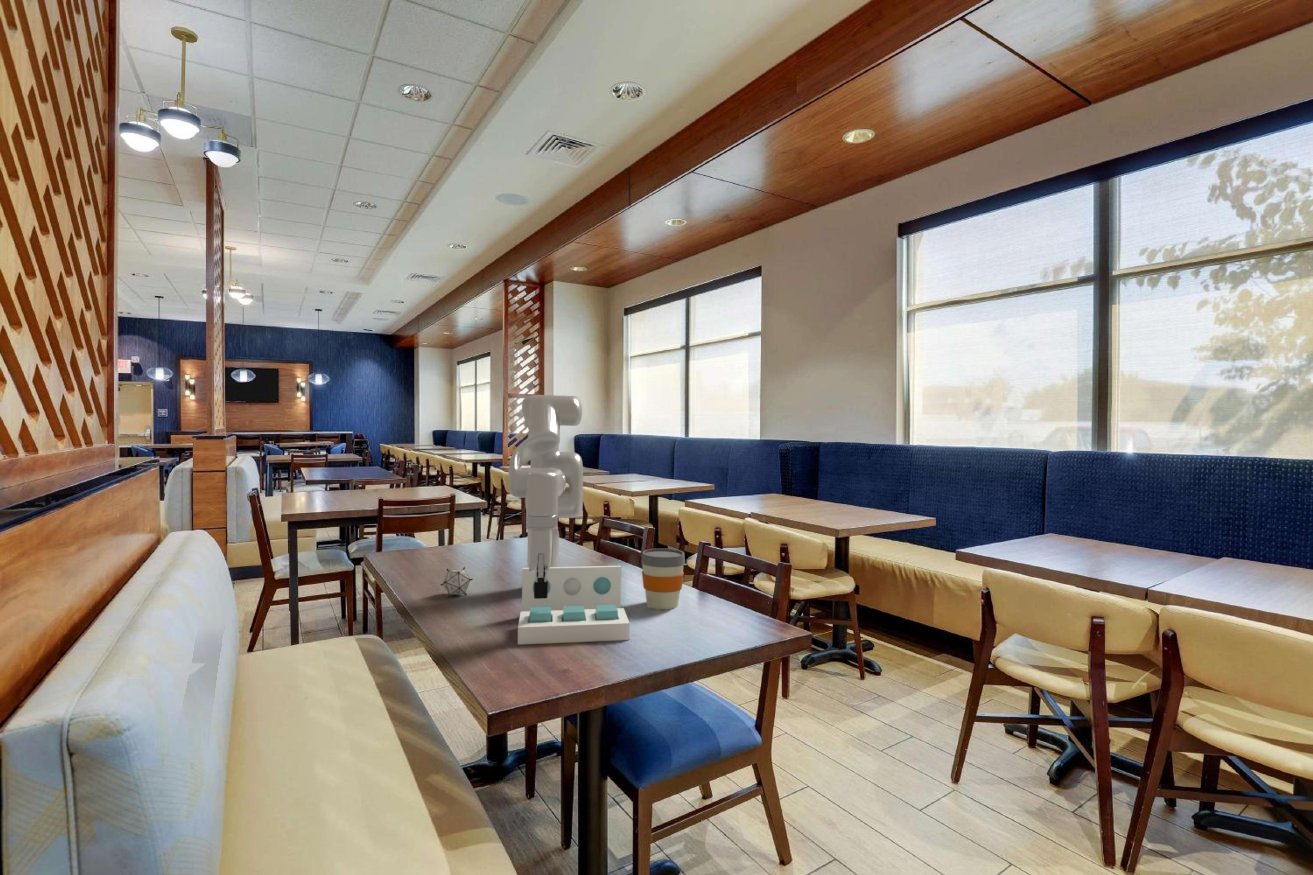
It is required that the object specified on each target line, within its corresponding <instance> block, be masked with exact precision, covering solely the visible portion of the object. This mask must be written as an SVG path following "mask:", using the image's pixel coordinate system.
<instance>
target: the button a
mask: <svg viewBox="0 0 1313 875" xmlns="http://www.w3.org/2000/svg"><path fill="white" fill-rule="evenodd" d="M534 622H551V607H530V623H534Z"/></svg>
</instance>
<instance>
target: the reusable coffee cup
mask: <svg viewBox="0 0 1313 875" xmlns="http://www.w3.org/2000/svg"><path fill="white" fill-rule="evenodd" d="M641 554H642V555H641V560H640V561H641V564H642V572H641V576H642V577H641V578H642V583H643V584H642V586H643V589H644V590H645V599H646V606H647V607H648V608H651V609H653V608H654V609H655V610H660V609H667V610H673V609H677V608H678V607H679V599H680V593H681V590H682V588H683V581H684V575H685V572H684V566H685V564H686V559H685V557H686V556H685V552H684V551H682V550H679V549H674V548H650V549H645V550H643V551H642V553H641ZM672 608H673V609H672Z"/></svg>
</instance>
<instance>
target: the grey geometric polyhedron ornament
mask: <svg viewBox="0 0 1313 875" xmlns="http://www.w3.org/2000/svg"><path fill="white" fill-rule="evenodd" d="M465 569H466V566H464V567H463V568H462V569H453V570H452V569H451V570H449V568H446V571H447V572H446V576H445V578H444V580H443V583H441V584H440V586H443V587H444V588H445V590H446V592H447V593H448V595H447V598H448V597H449V598H450V597H451V596H454V595H462V594H463V595H464V596H466V595H467V596H468V594H467V589H468V587H469V585H470V582H471V581H473V580H474V579H473V578H470V576H468V574H467V572H466V570H465Z"/></svg>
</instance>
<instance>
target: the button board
mask: <svg viewBox="0 0 1313 875" xmlns="http://www.w3.org/2000/svg"><path fill="white" fill-rule="evenodd" d="M617 610H618V619H616V620H596V619H595V614H596V609H584V611H585V621H563V610H553V611H551V622H534V623H530V611H523V612H522V611H520V614H519V619H518V626H517V646H518V645H535V644H536V645H537V644H538V645H540V644H541V645H542V644H561V643H562V644H564V643H566V644H567V643H582V642H585V643H588V642H590V643H591V642H607V641H608V642H609V641H610V642H611V641H629V640H630V624H631V623H630V620H629V618H628V616H627V612H626V611H625V608H622V607H620V608H617Z"/></svg>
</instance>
